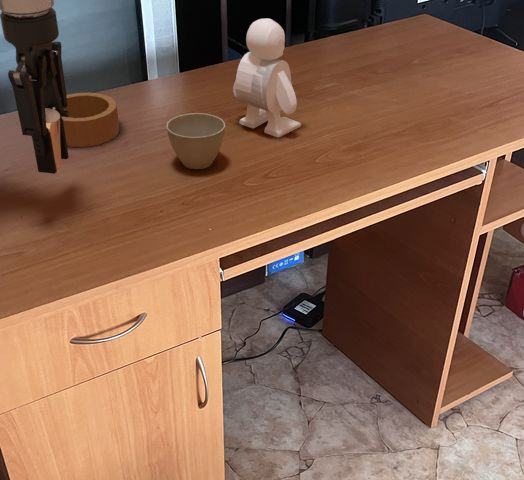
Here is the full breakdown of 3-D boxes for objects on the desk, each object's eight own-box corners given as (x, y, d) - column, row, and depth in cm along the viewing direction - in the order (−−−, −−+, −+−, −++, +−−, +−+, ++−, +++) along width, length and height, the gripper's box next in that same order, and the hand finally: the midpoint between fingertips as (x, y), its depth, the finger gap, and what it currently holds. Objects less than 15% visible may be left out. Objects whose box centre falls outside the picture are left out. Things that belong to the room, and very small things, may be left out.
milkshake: (75, 162, 125) (67, 100, 119) (54, 174, 121) (45, 111, 115) (51, 156, 126) (43, 94, 120) (30, 168, 122) (20, 105, 116)
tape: (39, 143, 144) (34, 117, 141) (65, 115, 154) (61, 90, 150) (105, 150, 142) (102, 123, 139) (128, 120, 152) (125, 95, 149)
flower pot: (225, 176, 135) (224, 137, 130) (167, 176, 135) (164, 137, 130) (226, 150, 142) (225, 112, 138) (171, 150, 142) (168, 112, 138)
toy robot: (309, 128, 149) (313, 20, 136) (280, 145, 144) (282, 33, 131) (252, 109, 156) (252, 4, 143) (223, 124, 151) (219, 16, 138)
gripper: (26, 32, 101) (55, 193, 116) (76, -8, 114) (95, 142, 129) (-28, 27, 102) (7, 188, 117) (27, -11, 115) (52, 138, 130)
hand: (53, 164), depth 123 cm, fingers closed on milkshake, 4 cm apart
